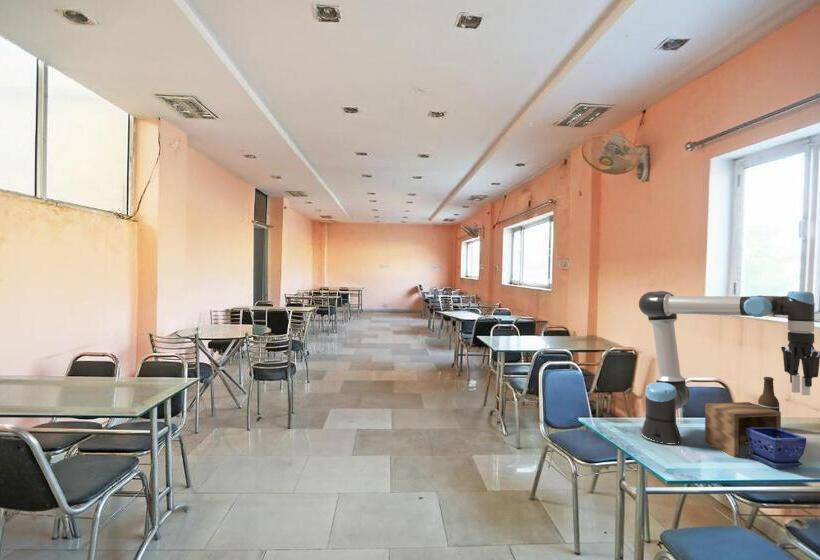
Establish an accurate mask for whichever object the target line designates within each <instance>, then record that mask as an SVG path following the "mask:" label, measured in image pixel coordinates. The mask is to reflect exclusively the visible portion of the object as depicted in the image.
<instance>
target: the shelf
mask: <svg viewBox="0 0 820 560" xmlns="http://www.w3.org/2000/svg"><path fill="white" fill-rule="evenodd" d="M781 416H782V413H781V411H780V410H779V411H775V410H772V409H769V408H766V407H763V406H759V405H758V404H757V403H753V402H750V401H744V402H721V403H719V402H718V403H717V402H716V403H715V402H714V403H705V404H704V419H705V420H704V421H705V422H704V426H705V427H704V442H705V443H704V444H705V445H706V446H710V447H711V446H712V448H714V449H716V450H718V451H720V452H722V451H723V452H722V453H724V452H725V453H724V454H726V453H727V455H729V456H731V457H733V458H739V448H740V447H739V446H747V444H749V443H748V440H747V435H746V428H752V427H775V428H778V429H782V423H781V422H782V419H781ZM777 439H779V437H778V436H777ZM759 442H760V440H759Z"/></svg>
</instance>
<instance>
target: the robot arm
mask: <svg viewBox="0 0 820 560" xmlns="http://www.w3.org/2000/svg"><path fill="white" fill-rule="evenodd" d="M815 307H816V306H815V296H814V293H813V292H812V291H795V290H794V291H791V290H790V291H788V292H787V294H786V296H785V295H784V296H780V295H779V296H778V295H750V296H728V295H727V296H726V295H725V296H723V295H722V296H713V295H712V296H705V295H703V296H702V295H701V296H700V295H699V296H698V295H697V296H696V295H693V296H692V295H691V296H689V295H688V296H686V295H681V296H680V295H677V296H676V295H674V294H673V293H671V292H668V291H664V290H663V291H662V290H659V291H658V290H657V291H647V292H645V293H643V295H642V296H640V298H639V300H638V308H639V310H640V311H641V313H642V314H644V315H645V316H647V318H648V322H649V323H651V325H652V329H653V336H654V344H655V353H656V360H657V369H658V376H657V377H656V378H655V381H656V382H650V383H649V384H647V385H646V386H645V390H644V391H645V392H644V395H645V404H644V405H645V417H644V418H645V420H644V422H643V425H642V427H641V429H640V434H641V433H642V434H643V435H644V436H646V437H647V438H650V439H652V440H655V441H658V442H663V443H678V442H680V443H681V442H682V437H681V436H682V435H681V433H680V430H679V427H678V424H677V410H679V409H682V408H684V407H686V406H687V404H688V403H689V402H690V400H691V397H692V396H691V395H692V393H691V390H690V389H689V387H688V385H686V384H687V382H686V379H685V377H683V376H682V375H681V369H680V368H681V367H680V361H679V360H680V359H679V353H678V351H679V350H678V345H677V337H676V330H675V322H676V321H677V320H678V316H677V314H678V315H705V316H706V315H708V316H709V315H710V316H738V317H741V316H742V317H754V318H763V317H766V316H783V317H784V316H785V317H787V330H788V332H787V341H788V342H789V343H788V344H787V345H786V346H781V348H780V349H781V351H782V358H783V367H784V372H785V373H787V374H788V375H789V376H790V378H789V380H790V381H789V382H790V384H791V393H793V394H794V393H795V394H796V393H797V394H799V393H800V394H801V395H802V396H810V395H811V387H812V385H813V379H815V378H819V370H820V351H818V350H816V349H815V347H814V344H815V333H814V332H815ZM800 361H801V362H800ZM800 363H801V365H802V373H803V376H801V375H800V373H799V369H800V368H799V367H800Z"/></svg>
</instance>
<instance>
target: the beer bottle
mask: <svg viewBox="0 0 820 560" xmlns="http://www.w3.org/2000/svg"><path fill="white" fill-rule="evenodd" d="M763 380H764V381H763V389H762V390H763V392H762V394H761V395H760V396H759V398H758V401H757V405H759V406H763V407H766V408H769V409H772V410H775V411H779V412H780V402H779V400H778V398H777V396H776V395H775V390H774V389H775V388H774V378H773V377H772V376H771V377H770V376H764V377H763Z"/></svg>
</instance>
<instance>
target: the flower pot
mask: <svg viewBox="0 0 820 560" xmlns="http://www.w3.org/2000/svg"><path fill="white" fill-rule="evenodd" d="M746 435H747V440H748V443H747V444H748V445H749V447H750V449H751V451H752V452H751V451H750V452H748V454H749V456H750V457H751V458H753V459H754V460H756V461H758V462H761V463H762V464H764V465H766V466H769V467H771V468H774V469H792V468H793V469H797V468H800V467H802V466H803V462H802V461H800V460H801V458H802V457H803V455H804V453H805V451H806V445H807V438H806V437H805V436H802V435H798V434H797V433H793V432H790V431H788V430H784V429H782V428H781V429H778V428H775V427H752V428H746ZM777 436H778V437H779V439H777ZM759 440H760V442H759Z"/></svg>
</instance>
